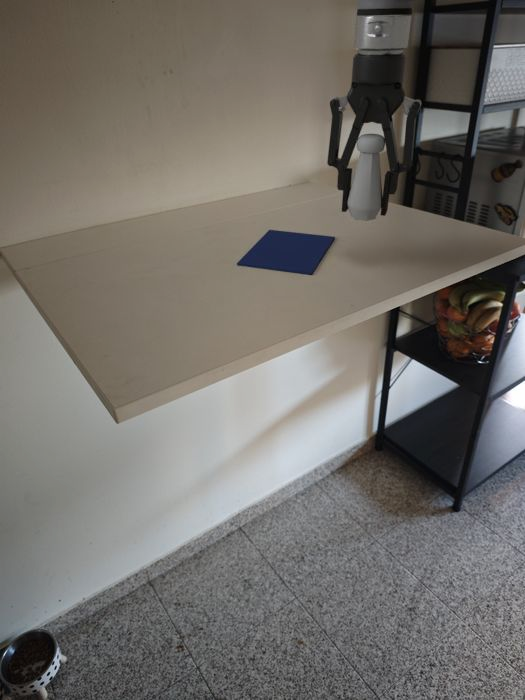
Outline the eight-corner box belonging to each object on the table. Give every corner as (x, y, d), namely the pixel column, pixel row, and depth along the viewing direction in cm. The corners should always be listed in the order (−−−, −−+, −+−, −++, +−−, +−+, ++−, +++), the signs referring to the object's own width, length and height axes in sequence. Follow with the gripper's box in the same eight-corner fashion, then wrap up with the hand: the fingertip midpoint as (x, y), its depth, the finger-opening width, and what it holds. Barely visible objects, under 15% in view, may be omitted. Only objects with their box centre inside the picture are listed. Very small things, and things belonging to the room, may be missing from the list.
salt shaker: (354, 224, 81) (362, 139, 74) (340, 213, 86) (346, 132, 79) (387, 220, 83) (397, 136, 76) (371, 210, 87) (380, 130, 80)
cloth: (334, 238, 100) (335, 236, 100) (311, 275, 86) (311, 272, 86) (269, 231, 104) (269, 229, 104) (236, 265, 90) (236, 263, 90)
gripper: (309, 53, 71) (304, 212, 84) (447, 53, 66) (419, 224, 79) (322, 50, 77) (316, 199, 90) (450, 50, 72) (423, 209, 85)
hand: (364, 210), depth 84 cm, fingers closed on salt shaker, 6 cm apart
